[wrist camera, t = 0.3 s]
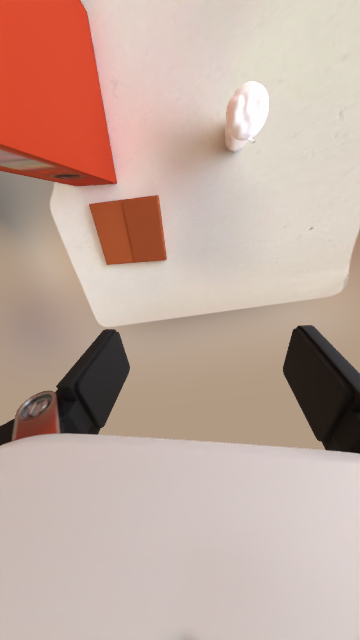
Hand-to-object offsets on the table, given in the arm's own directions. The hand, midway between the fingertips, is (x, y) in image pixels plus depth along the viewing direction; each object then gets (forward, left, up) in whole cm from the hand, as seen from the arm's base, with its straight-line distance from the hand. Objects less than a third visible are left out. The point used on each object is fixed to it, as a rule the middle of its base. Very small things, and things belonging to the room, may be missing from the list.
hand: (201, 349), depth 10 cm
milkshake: (-15, +6, -31) cm, 35 cm away
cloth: (-4, -14, -30) cm, 34 cm away
